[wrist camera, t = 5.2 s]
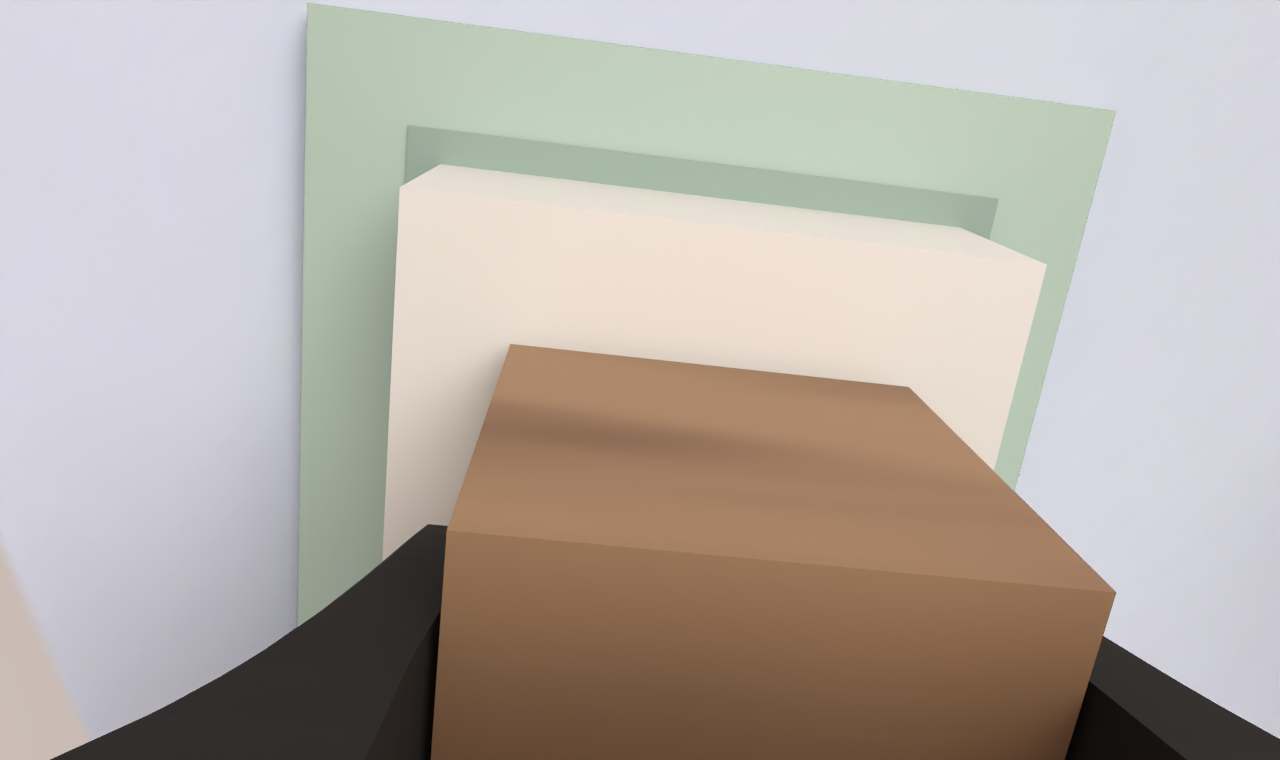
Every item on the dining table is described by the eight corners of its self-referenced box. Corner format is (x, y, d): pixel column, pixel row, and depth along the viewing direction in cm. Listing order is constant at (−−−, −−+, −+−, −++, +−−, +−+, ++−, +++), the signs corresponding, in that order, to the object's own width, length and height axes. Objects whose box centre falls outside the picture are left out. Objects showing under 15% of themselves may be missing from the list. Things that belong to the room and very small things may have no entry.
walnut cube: (835, 721, 13) (965, 1076, 9) (480, 693, 13) (409, 1048, 8) (908, 387, 12) (1115, 592, 7) (510, 343, 11) (446, 530, 7)
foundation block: (859, 667, 17) (911, 786, 14) (412, 629, 16) (373, 746, 14) (959, 227, 15) (1046, 264, 12) (440, 164, 14) (399, 186, 11)
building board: (930, 742, 18) (942, 766, 18) (305, 693, 18) (294, 716, 17) (1096, 109, 15) (1118, 110, 14) (319, 5, 14) (305, 1, 13)
